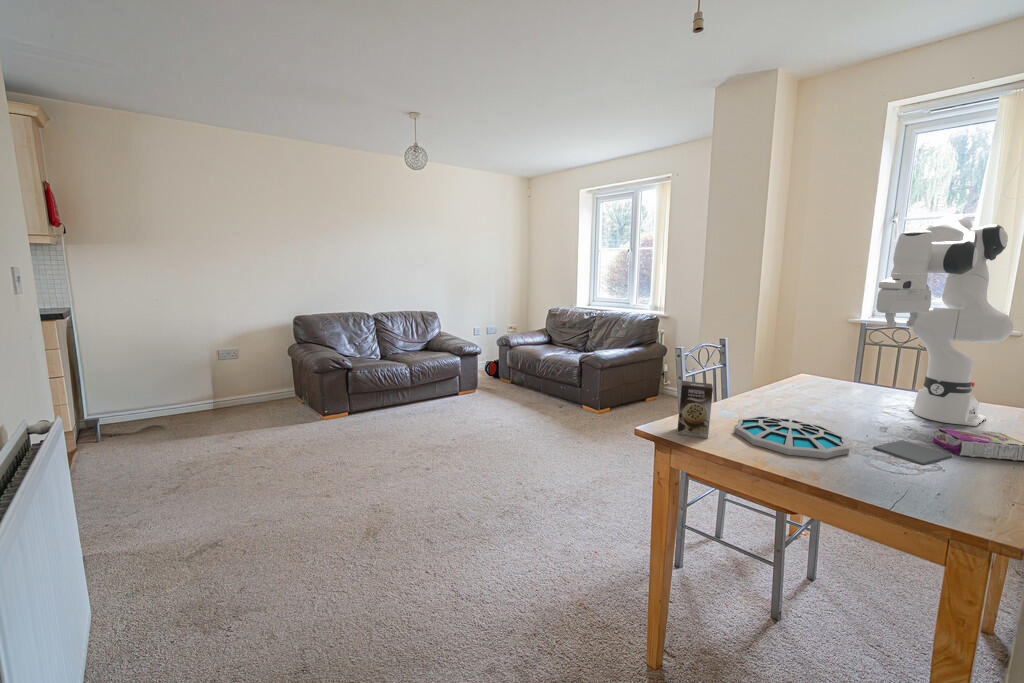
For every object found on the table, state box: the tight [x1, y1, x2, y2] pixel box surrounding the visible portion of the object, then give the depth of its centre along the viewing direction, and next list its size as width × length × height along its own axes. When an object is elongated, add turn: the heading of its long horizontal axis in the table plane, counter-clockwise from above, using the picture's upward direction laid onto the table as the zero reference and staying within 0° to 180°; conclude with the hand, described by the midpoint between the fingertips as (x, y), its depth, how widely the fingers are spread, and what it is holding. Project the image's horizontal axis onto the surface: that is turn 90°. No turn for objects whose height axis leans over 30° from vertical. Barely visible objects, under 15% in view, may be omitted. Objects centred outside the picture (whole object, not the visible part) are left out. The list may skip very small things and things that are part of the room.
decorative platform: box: [734, 415, 850, 460], centre depth 139 cm, size 31×29×5 cm
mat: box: [872, 439, 953, 466], centre depth 129 cm, size 14×12×1 cm
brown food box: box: [676, 380, 714, 439], centre depth 141 cm, size 9×6×16 cm
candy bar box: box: [932, 427, 1024, 462], centre depth 130 cm, size 11×5×16 cm
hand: (900, 326), depth 144 cm, fingers open, 8 cm apart
